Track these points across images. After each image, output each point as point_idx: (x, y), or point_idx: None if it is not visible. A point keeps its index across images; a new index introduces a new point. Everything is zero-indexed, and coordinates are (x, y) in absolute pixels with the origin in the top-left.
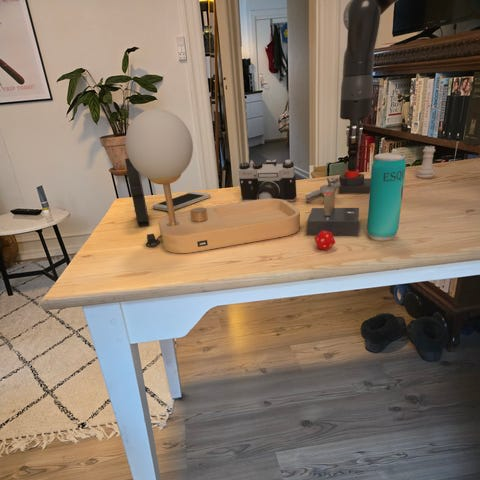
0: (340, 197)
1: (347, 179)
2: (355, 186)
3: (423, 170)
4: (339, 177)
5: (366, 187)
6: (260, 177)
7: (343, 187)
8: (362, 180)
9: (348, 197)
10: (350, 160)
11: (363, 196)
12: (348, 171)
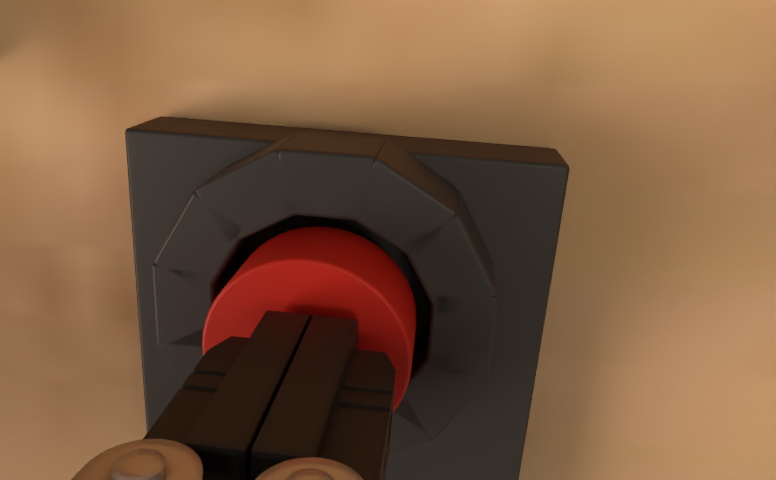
0: (9, 130)
1: (156, 254)
2: (147, 314)
3: None
4: (268, 151)
5: (149, 411)
6: None
7: (131, 181)
8: None
9: (16, 211)
10: (159, 424)
11: (61, 347)
12: (241, 305)
